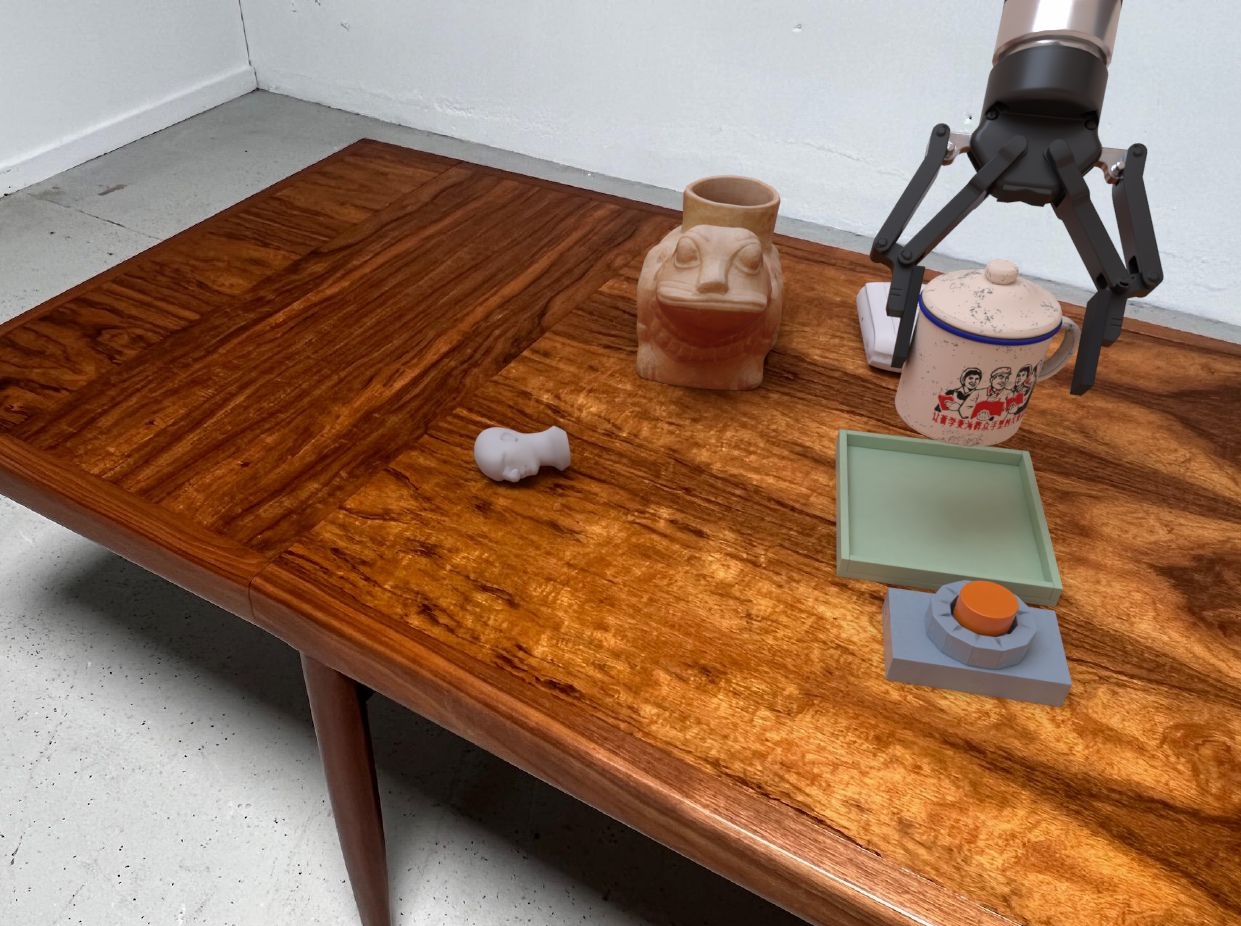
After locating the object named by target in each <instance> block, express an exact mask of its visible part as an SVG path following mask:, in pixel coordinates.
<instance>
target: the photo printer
mask: <svg viewBox="0 0 1241 926" xmlns="http://www.w3.org/2000/svg"><path fill="white" fill-rule="evenodd" d="M890 284H891V281H872V282H871V281H870V282H866V283H865V284H864V286H862V288H861V289H860V290H859V291H858V292H857V296H856V299H855V305H856V310H857V317H858V322H859V328H860V333H861V338H862V344H863V347H864V352H865V353H864V354H865V357H866V362H867V364H868V365H869V366H872V367H874V368H877V369H880V370H885V371H889V372H893V373H894V372H895V373H900V374H902V371H903V367H904V365H903V367H902V369H899V368H893V367H891V362H892V357H893V352H894V347H895V342H896V337H897V332H898V328H899V323H900V318H896V317H889V316H887V314H886V304H887V299H888V294H889V289H890ZM926 285H927V283H926V284H925V283H922V286H921V291H920V293H921V292H922V290H923V289H924V287H925V286H926ZM919 309H920V307H919V301H918V306H917V311H916V316H915V321H914V326H913V331H914V328H915V324H916V320H917V317H918V313H919ZM913 331H912V335H913ZM911 338H912V336H911ZM910 342H911V341H910ZM904 364H905V363H904Z"/></svg>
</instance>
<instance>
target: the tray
mask: <svg viewBox="0 0 1241 926" xmlns="http://www.w3.org/2000/svg"><path fill="white" fill-rule="evenodd" d="M834 447H835V520H836V521H835V529H836V530H835V535H836V536H835V542H836V546H835V547H836V548H835V549H836V554H835V555H836V577H838V578H844V579H845V578H846V579H853V580H858V581H859V580H860V581H868V582H873V583H874V582H875V583H882V584H889V585H895V586H903V587H910V588H917V589H925V590H931V591H938V590H939V589H940V588H941V587H942V586H943V585H946V584H950V583H954V582H958V581H963V580H969V581H989V582H993V583H996V584H999V585H1001V586H1003V587H1005V588H1007V589H1008V590H1009V591H1011V592H1012V593H1013V594H1015V595H1017V596H1018V597H1019V598H1020V599H1021V600H1022V601H1023V602H1024V603H1025V604H1032V605H1038V606H1045V607H1053V608H1055V607H1056V606H1057V604H1058V602H1059V599H1060V597H1061V595H1062V593H1063V590H1064V587H1063V584H1062V583H1063V582H1062V579H1061V575H1060V574H1061V573H1060V571H1059V566H1058V562H1057V558H1056V554H1055V550H1054V546H1053V543H1052V538H1051V534H1050V529H1049V526H1048V522H1047V518H1046V515H1045V510H1044V506H1043V502H1042V498H1041V495H1040V490H1039V486H1038V483H1037V478H1036V473H1035V470H1034V466H1033V461H1032V457H1031V454H1030V451H1029V450H1021V449H1013V448H1005V447H996V446H995V447H994V446H979V447H969V446H958V445H952V444H948V443H944V442H940V441H937V440H934V439H929V438H928V439H927V438H921V437H920V438H919V437H910V436H901V435H893V434H884V433H876V432H868V431H860V430H859V431H858V430H851V429H850V430H849V429H844V428H843V429H842V428H839V430H838V434H837V438H836V441H835V446H834Z"/></svg>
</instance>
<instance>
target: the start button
mask: <svg viewBox="0 0 1241 926" xmlns="http://www.w3.org/2000/svg"><path fill="white" fill-rule="evenodd" d="M1018 608H1019V604H1018V600H1017V598H1016V597H1015V595H1014V594H1013V593H1012V592H1011V591H1009V590H1008V589H1007V588H1005V587H1003V586H1001V585H999V584H996V583H993V582H989V581H973V582H969V583H967V584H966V585H964V586H963V587H962V589H961V591H960V593H959V596H958V599H957V602H956V604H955V607H954V616H955V619H956V620H957V622H958V623H959V624H960V625H961V626H962V627H964V628H966V629H968V630H970V631H972V632H974V633H976V634H978V635H983V636H990V637H997V636H1001V635H1003V634H1005V633H1007V632H1008V631H1009V630H1010V628H1011V625H1012V623H1013V621H1014V618H1015V616H1016V613H1017V611H1018Z"/></svg>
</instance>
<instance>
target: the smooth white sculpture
mask: <svg viewBox="0 0 1241 926" xmlns="http://www.w3.org/2000/svg"><path fill="white" fill-rule="evenodd" d="M473 456H474V461H475V463H476V465H477V467H478V468H479V470H480V471H481V472H482V473H483V474H484V475H485V476H486V477H488V478H490V479H491V480H494V481H496V482H502V481H503V480H505V481H509V482H511V483H517V482H519V481H520V479H525V478H526V477H531V476H536V475H537V474H538V472H539V470H540V467H542V466H547V467H549V466H550V467H554V468H555V469H557V470H559V471H560V472H563V471H564V470H565V469H566V468H568V467H569V466H571V462H572V461H571V449H570V443H569V439H568V434H567V431H566V430H564V429H562V428H560V427H558V426H556V425H552V426H551V427H549V428H547V429H546V430H543V431H540V432H534V433H522V432H518V431H516V430H513V429H511V428H506V427H499V426H494V427H489V428H486V429H484V430H483V431H481V432H480V433H479V435H478V436H477V437H476V439H475V442H474V446H473Z"/></svg>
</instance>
